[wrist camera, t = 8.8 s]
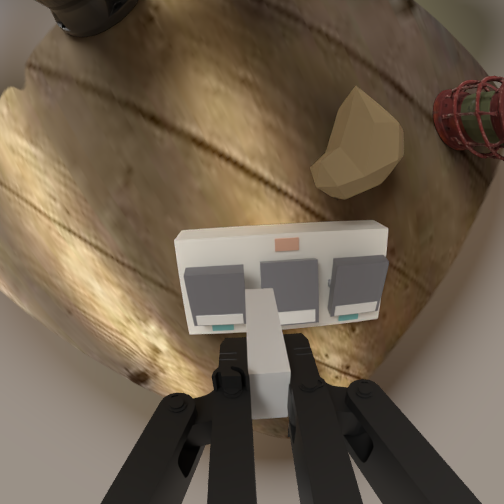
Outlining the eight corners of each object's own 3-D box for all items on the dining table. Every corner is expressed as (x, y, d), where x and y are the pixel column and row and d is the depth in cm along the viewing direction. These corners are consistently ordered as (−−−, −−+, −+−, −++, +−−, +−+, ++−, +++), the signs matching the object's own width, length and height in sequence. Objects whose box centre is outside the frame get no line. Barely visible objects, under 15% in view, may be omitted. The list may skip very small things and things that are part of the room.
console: (181, 230, 41) (172, 242, 35) (373, 219, 41) (391, 230, 36) (194, 317, 46) (188, 339, 40) (366, 304, 46) (379, 323, 40)
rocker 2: (333, 258, 36) (337, 266, 34) (383, 254, 36) (389, 262, 34) (327, 308, 40) (330, 317, 38) (373, 302, 40) (377, 311, 38)
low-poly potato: (371, 93, 36) (311, 73, 30) (433, 116, 28) (381, 91, 23) (344, 183, 44) (285, 182, 39) (396, 218, 37) (339, 225, 31)
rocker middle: (259, 261, 37) (260, 263, 35) (314, 257, 37) (318, 259, 35) (263, 322, 38) (263, 327, 36) (315, 318, 38) (319, 322, 36)
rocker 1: (185, 267, 35) (183, 276, 34) (243, 264, 35) (243, 273, 34) (195, 316, 39) (194, 326, 38) (247, 314, 39) (247, 324, 38)
